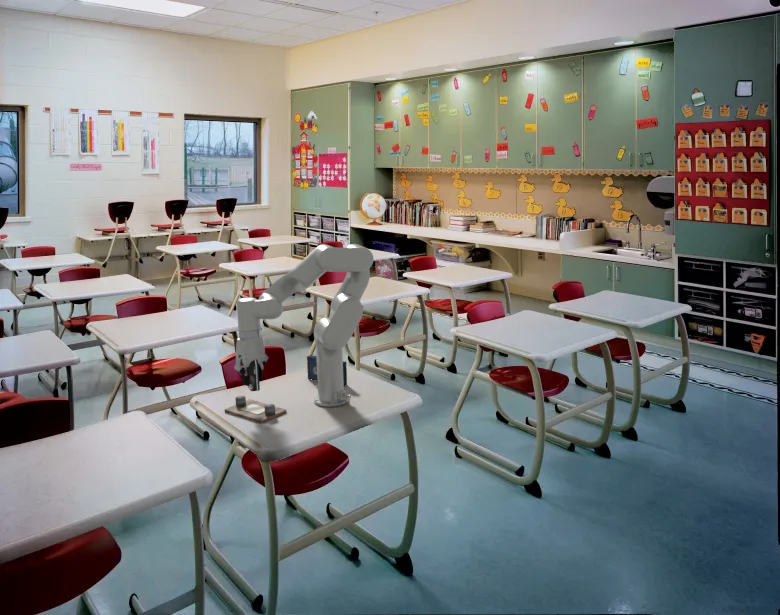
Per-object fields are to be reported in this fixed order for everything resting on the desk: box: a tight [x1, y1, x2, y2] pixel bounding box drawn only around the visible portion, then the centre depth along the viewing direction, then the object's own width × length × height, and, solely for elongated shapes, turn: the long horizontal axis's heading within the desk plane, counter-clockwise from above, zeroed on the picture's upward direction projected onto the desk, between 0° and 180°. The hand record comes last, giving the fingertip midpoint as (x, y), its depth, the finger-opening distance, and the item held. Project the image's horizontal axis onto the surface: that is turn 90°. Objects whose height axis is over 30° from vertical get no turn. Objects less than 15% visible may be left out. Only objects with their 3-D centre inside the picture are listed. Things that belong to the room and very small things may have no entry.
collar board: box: [224, 395, 287, 424], centre depth 229 cm, size 19×12×4 cm, turn 55°
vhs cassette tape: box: [306, 354, 348, 387], centre depth 258 cm, size 18×3×10 cm, turn 57°
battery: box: [247, 359, 261, 392], centre depth 225 cm, size 7×4×11 cm, turn 25°
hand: (252, 382), depth 227 cm, fingers closed on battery, 5 cm apart
